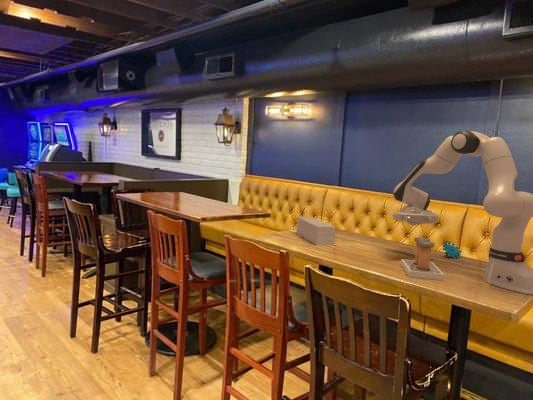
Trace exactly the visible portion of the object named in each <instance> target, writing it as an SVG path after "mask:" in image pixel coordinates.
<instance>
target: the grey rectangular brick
mask: <svg viewBox="0 0 533 400" xmlns="http://www.w3.org/2000/svg"><path fill="white" fill-rule="evenodd" d="M296 221H297V222H296V233H298V234H299V235H298V234H297V235H298V236H300V235H301V236H302V237H301V236H300V237H301V238H303V237H304V238H303V239H305V240H306V239H307V241H308V240H309V241H308V242H310V243H311V242H312V245H313V244H314V245H315V246H317V247H318V245H319V246H335V239H336V226H335V225H333V224H329V223H328V222H325V221H324V220H321V219H319V218H316V217H314V216H297V217H296Z"/></svg>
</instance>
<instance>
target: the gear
mask: <svg viewBox="0 0 533 400" xmlns="http://www.w3.org/2000/svg"><path fill="white" fill-rule="evenodd" d="M442 251H444V255H445V256H448V257H449V258H452V259H454V260H455V259H459V258H460V256H461V253H462V252H463V250H462V249H459V246H456V244H455V243H453V242H451V241H448V242H447V241H446V242H444V243H443V244H442Z"/></svg>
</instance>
